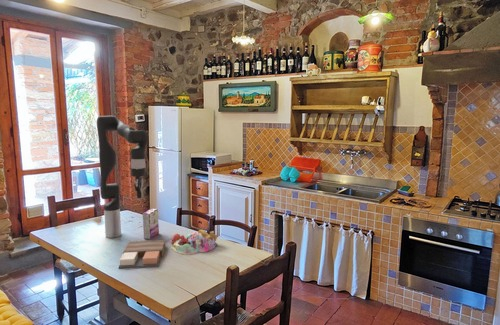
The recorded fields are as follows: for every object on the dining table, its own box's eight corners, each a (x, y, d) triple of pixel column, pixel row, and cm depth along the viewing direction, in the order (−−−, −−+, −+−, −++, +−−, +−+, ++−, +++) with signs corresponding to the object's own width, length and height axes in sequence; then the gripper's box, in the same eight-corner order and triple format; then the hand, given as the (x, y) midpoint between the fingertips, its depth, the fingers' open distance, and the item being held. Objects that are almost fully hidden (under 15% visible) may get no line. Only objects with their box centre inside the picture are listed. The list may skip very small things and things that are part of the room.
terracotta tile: (146, 256, 178) (146, 251, 178) (159, 256, 179) (159, 250, 179) (142, 264, 169) (142, 258, 169) (157, 263, 170) (156, 257, 170)
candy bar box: (152, 232, 217) (151, 208, 215) (159, 233, 216) (158, 208, 214) (143, 239, 207) (142, 213, 204) (150, 239, 206) (149, 213, 203)
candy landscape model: (195, 236, 212) (195, 222, 211) (224, 244, 198) (224, 229, 197) (164, 249, 192) (164, 233, 190) (194, 259, 178) (193, 242, 177)
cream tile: (124, 258, 177) (123, 252, 176) (137, 257, 178) (137, 251, 177) (119, 265, 168) (119, 259, 167) (134, 264, 169) (134, 259, 168)
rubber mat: (124, 259, 177) (123, 257, 177) (160, 257, 179) (160, 256, 179) (118, 268, 166) (118, 267, 166) (157, 266, 168) (157, 265, 168)
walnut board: (129, 248, 192) (129, 241, 191) (165, 246, 194) (165, 240, 194) (123, 259, 177) (122, 252, 176) (161, 257, 179) (161, 250, 179)
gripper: (133, 165, 189) (134, 195, 191) (128, 169, 176) (129, 201, 178) (147, 164, 190) (148, 194, 192) (143, 168, 177) (144, 200, 179)
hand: (139, 197), depth 185 cm, fingers closed
